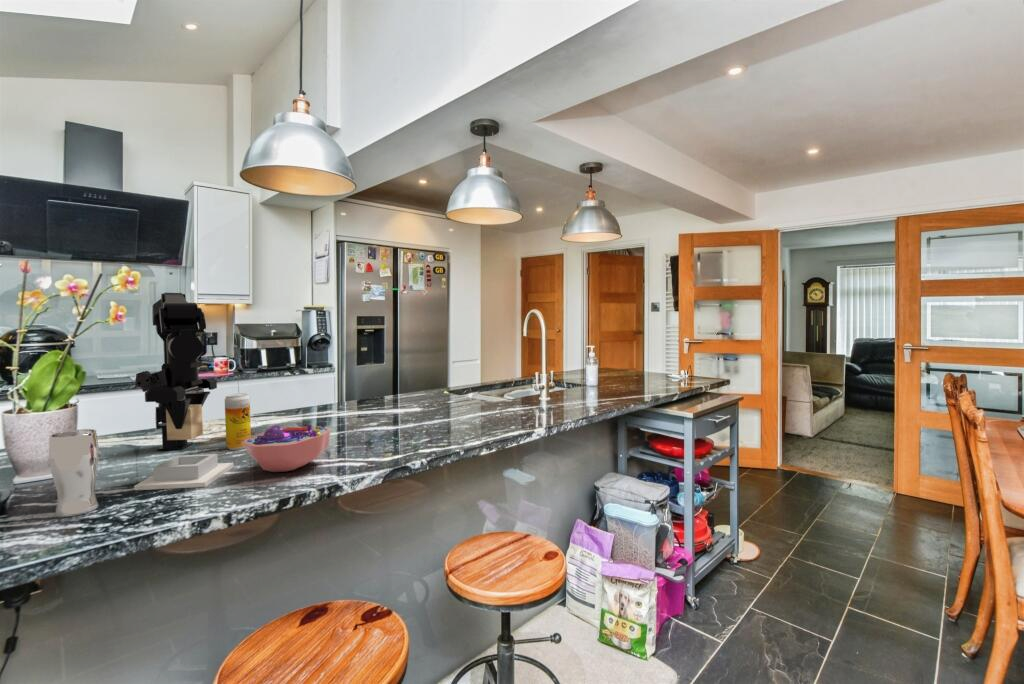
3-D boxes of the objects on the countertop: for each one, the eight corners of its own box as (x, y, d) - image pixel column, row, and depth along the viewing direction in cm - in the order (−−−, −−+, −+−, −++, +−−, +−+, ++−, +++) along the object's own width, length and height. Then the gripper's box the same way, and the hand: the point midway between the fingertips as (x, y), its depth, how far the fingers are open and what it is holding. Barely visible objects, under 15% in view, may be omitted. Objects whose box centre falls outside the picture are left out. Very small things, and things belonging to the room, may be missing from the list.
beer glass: (48, 521, 86) (44, 439, 85) (56, 509, 92) (51, 432, 91) (99, 512, 90) (95, 433, 89) (103, 500, 96) (99, 427, 95)
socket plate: (171, 469, 115) (171, 453, 115) (233, 466, 117) (233, 450, 117) (134, 490, 101) (133, 471, 101) (205, 486, 103) (204, 468, 103)
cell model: (346, 463, 120) (345, 418, 119) (267, 487, 103) (266, 435, 102) (307, 452, 129) (306, 411, 128) (229, 473, 113) (227, 425, 112)
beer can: (240, 451, 131) (238, 397, 130) (221, 450, 132) (219, 396, 131) (256, 445, 136) (254, 393, 136) (237, 444, 138) (236, 392, 137)
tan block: (179, 434, 111) (178, 403, 110) (202, 433, 112) (201, 402, 111) (167, 440, 106) (165, 407, 106) (191, 439, 107) (190, 406, 106)
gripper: (167, 355, 116) (170, 418, 117) (114, 362, 97) (118, 438, 98) (216, 354, 117) (219, 417, 118) (174, 361, 99) (177, 436, 100)
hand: (185, 426), depth 109 cm, fingers closed on tan block, 5 cm apart
